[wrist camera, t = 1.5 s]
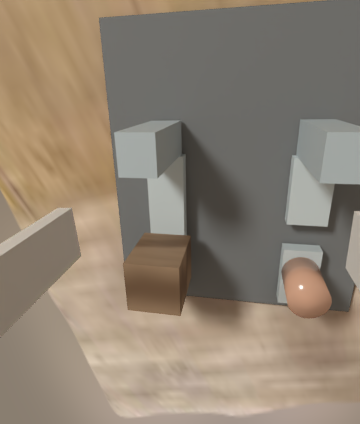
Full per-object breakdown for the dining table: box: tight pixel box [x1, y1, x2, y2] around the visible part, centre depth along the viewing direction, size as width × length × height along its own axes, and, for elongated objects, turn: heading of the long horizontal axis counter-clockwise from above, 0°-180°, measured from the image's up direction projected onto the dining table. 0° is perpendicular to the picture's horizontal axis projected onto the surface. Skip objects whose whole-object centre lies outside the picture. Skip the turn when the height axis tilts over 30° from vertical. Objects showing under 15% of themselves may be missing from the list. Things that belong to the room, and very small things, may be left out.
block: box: [123, 233, 191, 316], centre depth 33 cm, size 6×6×7 cm
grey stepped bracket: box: [114, 120, 187, 235], centre depth 31 cm, size 20×4×10 cm, turn 1°
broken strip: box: [276, 119, 360, 303], centre depth 28 cm, size 20×4×10 cm, turn 1°
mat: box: [99, 0, 360, 312], centre depth 33 cm, size 32×28×1 cm
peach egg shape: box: [281, 257, 332, 318], centre depth 31 cm, size 4×4×5 cm
